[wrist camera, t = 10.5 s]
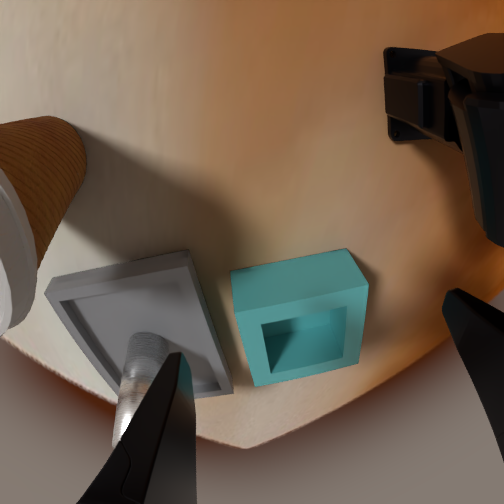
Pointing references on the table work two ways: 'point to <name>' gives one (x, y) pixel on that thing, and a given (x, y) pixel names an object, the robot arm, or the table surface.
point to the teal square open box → (300, 315)
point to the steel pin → (137, 376)
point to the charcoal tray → (142, 317)
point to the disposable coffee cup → (33, 203)
